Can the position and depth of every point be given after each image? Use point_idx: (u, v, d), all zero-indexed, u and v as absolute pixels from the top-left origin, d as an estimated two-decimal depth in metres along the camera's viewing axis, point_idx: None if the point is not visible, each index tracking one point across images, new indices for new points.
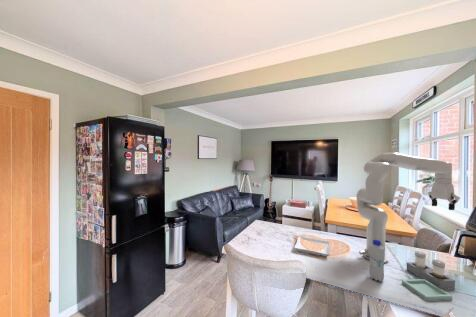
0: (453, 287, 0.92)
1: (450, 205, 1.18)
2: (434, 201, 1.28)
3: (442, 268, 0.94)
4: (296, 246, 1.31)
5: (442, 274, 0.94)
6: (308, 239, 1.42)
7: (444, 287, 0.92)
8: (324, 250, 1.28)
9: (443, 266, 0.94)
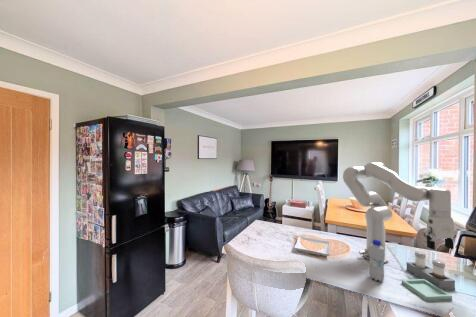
0: (453, 287, 0.92)
1: None
2: None
3: (442, 268, 0.94)
4: (296, 246, 1.31)
5: (442, 274, 0.94)
6: (308, 239, 1.42)
7: (444, 287, 0.92)
8: (324, 250, 1.28)
9: (443, 266, 0.94)
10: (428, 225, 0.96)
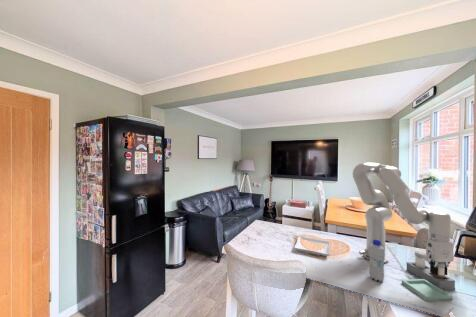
0: (453, 287, 0.92)
1: None
2: None
3: (442, 268, 0.94)
4: (296, 246, 1.31)
5: (442, 274, 0.94)
6: (308, 239, 1.42)
7: (444, 287, 0.92)
8: (324, 250, 1.28)
9: (443, 266, 0.94)
10: (427, 248, 0.97)
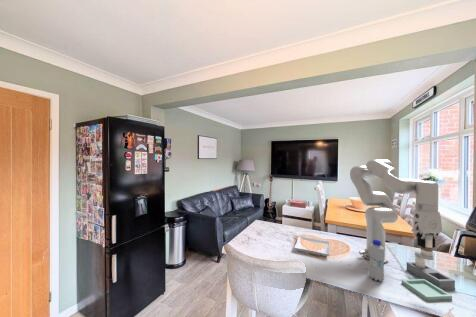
0: (453, 287, 0.92)
1: None
2: None
3: (430, 240, 0.89)
4: (296, 246, 1.31)
5: (430, 246, 0.89)
6: (308, 239, 1.42)
7: (444, 287, 0.92)
8: (324, 250, 1.28)
9: (431, 237, 0.88)
10: (414, 220, 0.91)
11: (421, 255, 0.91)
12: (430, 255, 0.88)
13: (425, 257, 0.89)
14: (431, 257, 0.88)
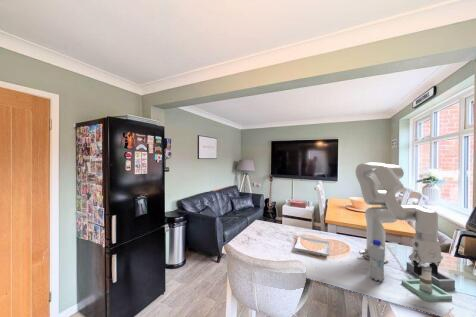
0: (453, 287, 0.92)
1: None
2: None
3: (429, 272, 0.89)
4: (296, 246, 1.31)
5: (429, 279, 0.89)
6: (308, 239, 1.42)
7: (444, 287, 0.92)
8: (324, 250, 1.28)
9: (429, 270, 0.89)
10: (414, 248, 0.91)
11: (420, 287, 0.91)
12: (429, 288, 0.89)
13: (424, 290, 0.89)
14: (430, 290, 0.88)
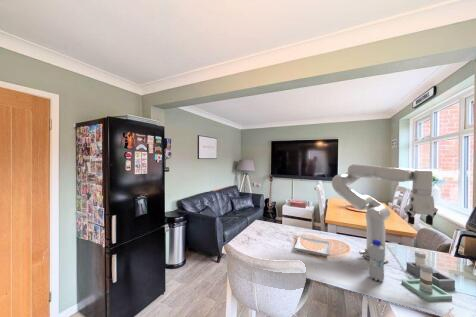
0: (453, 287, 0.92)
1: None
2: None
3: (429, 273, 0.88)
4: (296, 246, 1.31)
5: (430, 280, 0.88)
6: (308, 239, 1.42)
7: (444, 287, 0.92)
8: (324, 250, 1.28)
9: (431, 271, 0.88)
10: (410, 203, 1.05)
11: (420, 287, 0.91)
12: (429, 288, 0.88)
13: (424, 290, 0.89)
14: (430, 290, 0.88)
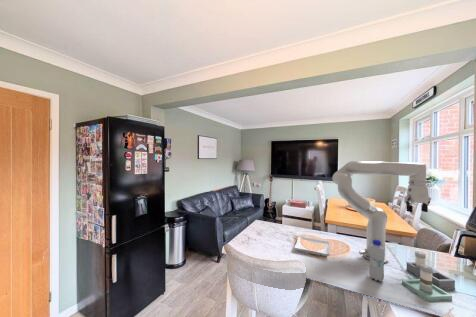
0: (453, 287, 0.92)
1: None
2: None
3: (430, 273, 0.88)
4: (296, 246, 1.31)
5: (430, 280, 0.88)
6: (308, 239, 1.42)
7: (444, 287, 0.92)
8: (324, 250, 1.28)
9: (431, 271, 0.88)
10: (408, 193, 1.18)
11: (420, 287, 0.91)
12: (429, 288, 0.88)
13: (424, 290, 0.89)
14: (430, 290, 0.88)
